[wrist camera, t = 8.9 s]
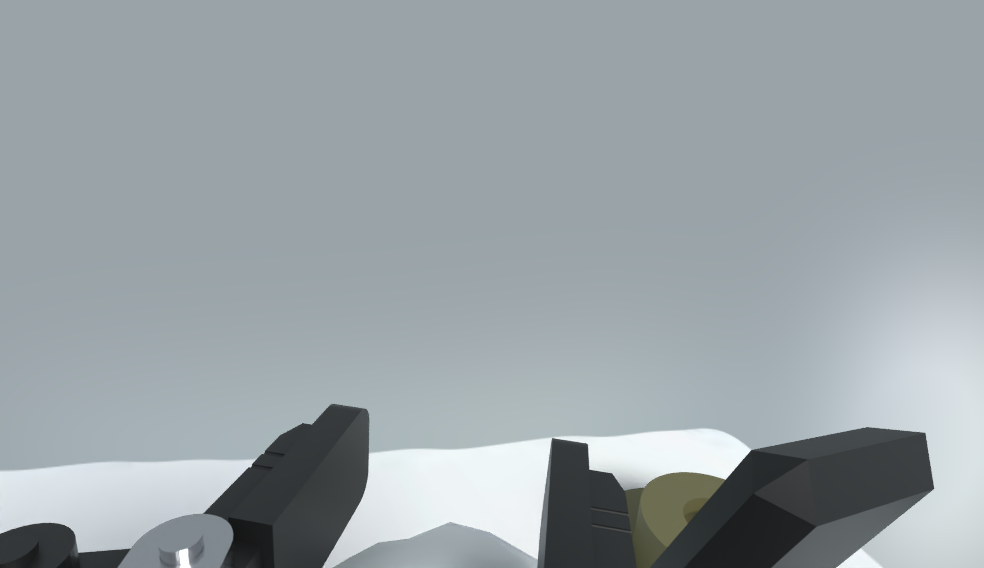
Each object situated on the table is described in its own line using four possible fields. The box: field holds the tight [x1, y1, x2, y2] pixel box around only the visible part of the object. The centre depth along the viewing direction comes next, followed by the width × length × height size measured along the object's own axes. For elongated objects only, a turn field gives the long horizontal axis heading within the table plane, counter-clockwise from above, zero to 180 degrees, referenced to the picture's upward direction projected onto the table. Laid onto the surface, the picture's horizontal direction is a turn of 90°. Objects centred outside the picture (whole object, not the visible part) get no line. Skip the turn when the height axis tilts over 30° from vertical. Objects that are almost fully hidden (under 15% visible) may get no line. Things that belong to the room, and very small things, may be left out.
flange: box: [625, 472, 725, 568], centre depth 29 cm, size 5×15×15 cm
